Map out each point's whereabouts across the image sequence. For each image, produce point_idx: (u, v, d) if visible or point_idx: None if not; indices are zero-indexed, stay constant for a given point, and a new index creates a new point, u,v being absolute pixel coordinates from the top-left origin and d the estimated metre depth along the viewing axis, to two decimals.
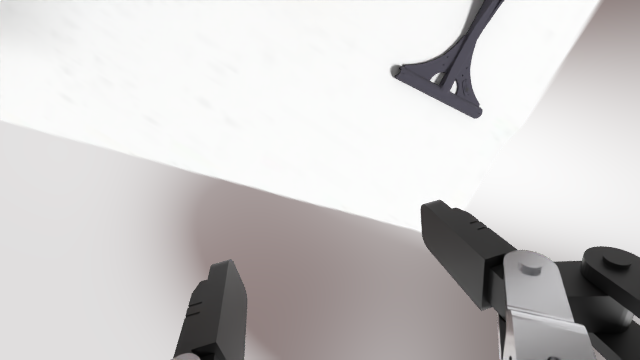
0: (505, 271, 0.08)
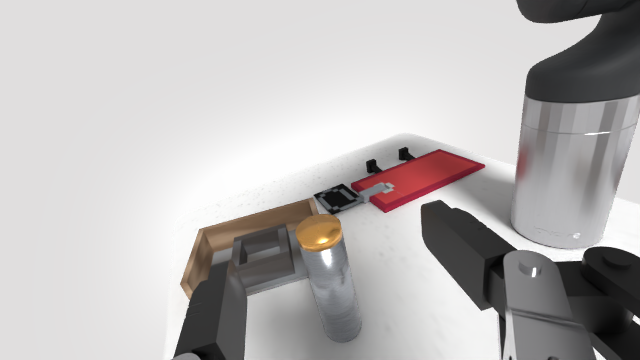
0: (505, 271, 0.08)
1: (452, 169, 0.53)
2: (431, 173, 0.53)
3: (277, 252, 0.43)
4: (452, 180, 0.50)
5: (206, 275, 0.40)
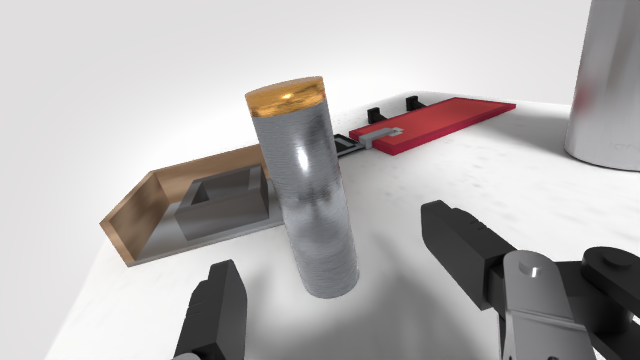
0: (505, 271, 0.08)
1: (475, 110, 0.43)
2: (448, 115, 0.43)
3: None
4: (476, 120, 0.40)
5: (151, 225, 0.30)
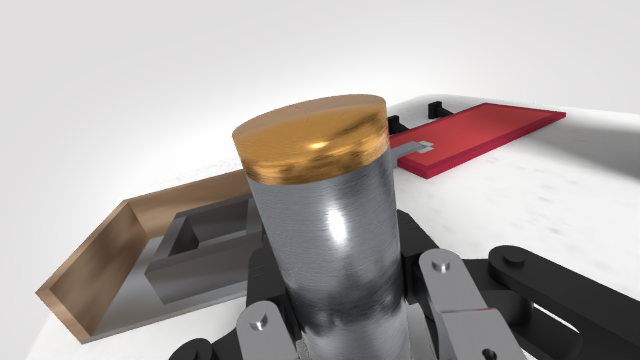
0: (423, 274, 0.08)
1: (517, 120, 0.36)
2: (485, 126, 0.36)
3: None
4: (523, 133, 0.33)
5: (121, 275, 0.23)
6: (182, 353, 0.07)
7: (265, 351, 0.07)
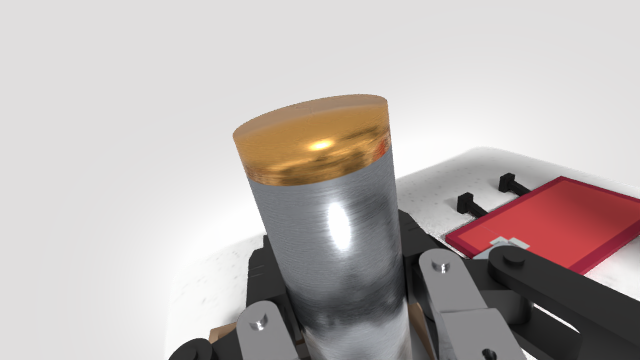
0: (423, 274, 0.08)
1: (616, 215, 0.33)
2: (580, 221, 0.33)
3: None
4: (631, 238, 0.30)
5: None
6: (183, 353, 0.07)
7: (265, 351, 0.07)
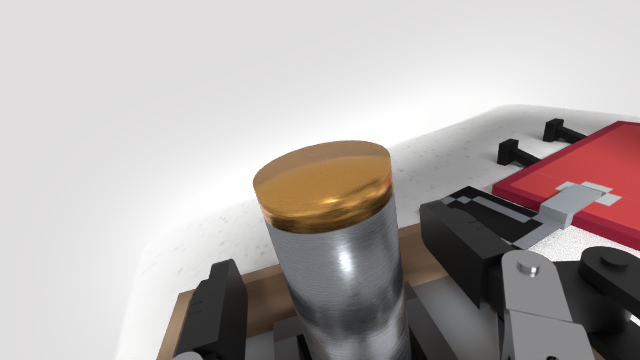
0: (503, 271, 0.08)
1: None
2: None
3: None
4: None
5: None
6: None
7: None
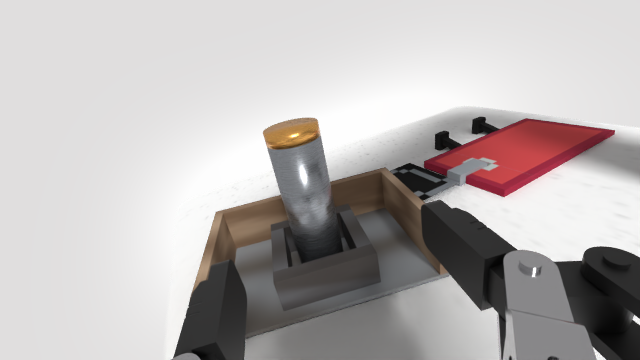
0: (505, 271, 0.08)
1: (569, 138, 0.38)
2: (540, 143, 0.38)
3: None
4: (581, 150, 0.35)
5: None
6: None
7: None
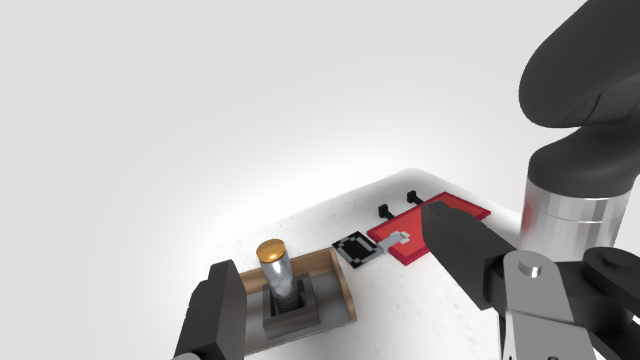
0: (505, 271, 0.08)
1: None
2: None
3: (302, 299, 0.47)
4: None
5: None
6: None
7: None
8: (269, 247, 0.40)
